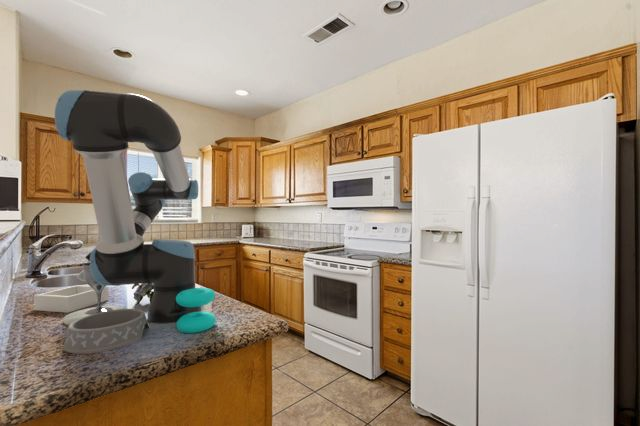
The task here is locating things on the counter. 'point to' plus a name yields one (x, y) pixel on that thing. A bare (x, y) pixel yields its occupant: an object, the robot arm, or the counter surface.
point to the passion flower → (143, 291)
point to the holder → (68, 299)
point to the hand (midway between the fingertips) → (94, 280)
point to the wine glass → (96, 287)
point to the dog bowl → (105, 331)
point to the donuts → (195, 319)
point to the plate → (82, 314)
